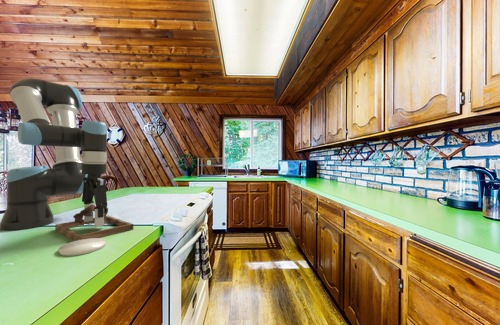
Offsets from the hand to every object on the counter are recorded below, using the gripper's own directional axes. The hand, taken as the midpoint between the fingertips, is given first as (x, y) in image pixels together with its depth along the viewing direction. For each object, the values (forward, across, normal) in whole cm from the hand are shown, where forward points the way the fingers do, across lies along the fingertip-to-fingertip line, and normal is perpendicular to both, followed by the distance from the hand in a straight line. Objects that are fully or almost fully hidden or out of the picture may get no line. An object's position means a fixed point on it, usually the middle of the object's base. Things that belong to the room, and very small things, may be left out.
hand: (93, 223), depth 84 cm
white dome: (+2, +18, -9) cm, 20 cm away
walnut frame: (+2, +1, 0) cm, 2 cm away
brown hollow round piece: (+1, 0, 0) cm, 1 cm away
